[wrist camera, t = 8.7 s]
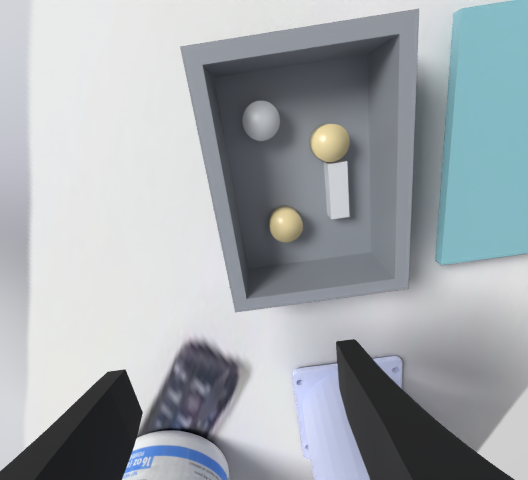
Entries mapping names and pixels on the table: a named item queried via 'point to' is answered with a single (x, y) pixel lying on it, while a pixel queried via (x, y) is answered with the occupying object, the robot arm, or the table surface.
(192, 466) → the supplement tub
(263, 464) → the table surface
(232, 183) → the parts tub
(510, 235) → the lid
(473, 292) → the table surface
